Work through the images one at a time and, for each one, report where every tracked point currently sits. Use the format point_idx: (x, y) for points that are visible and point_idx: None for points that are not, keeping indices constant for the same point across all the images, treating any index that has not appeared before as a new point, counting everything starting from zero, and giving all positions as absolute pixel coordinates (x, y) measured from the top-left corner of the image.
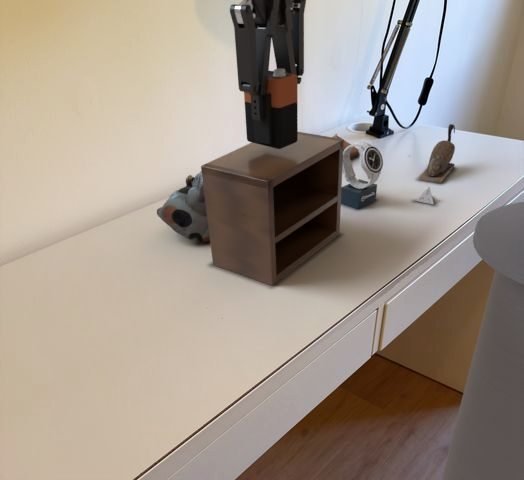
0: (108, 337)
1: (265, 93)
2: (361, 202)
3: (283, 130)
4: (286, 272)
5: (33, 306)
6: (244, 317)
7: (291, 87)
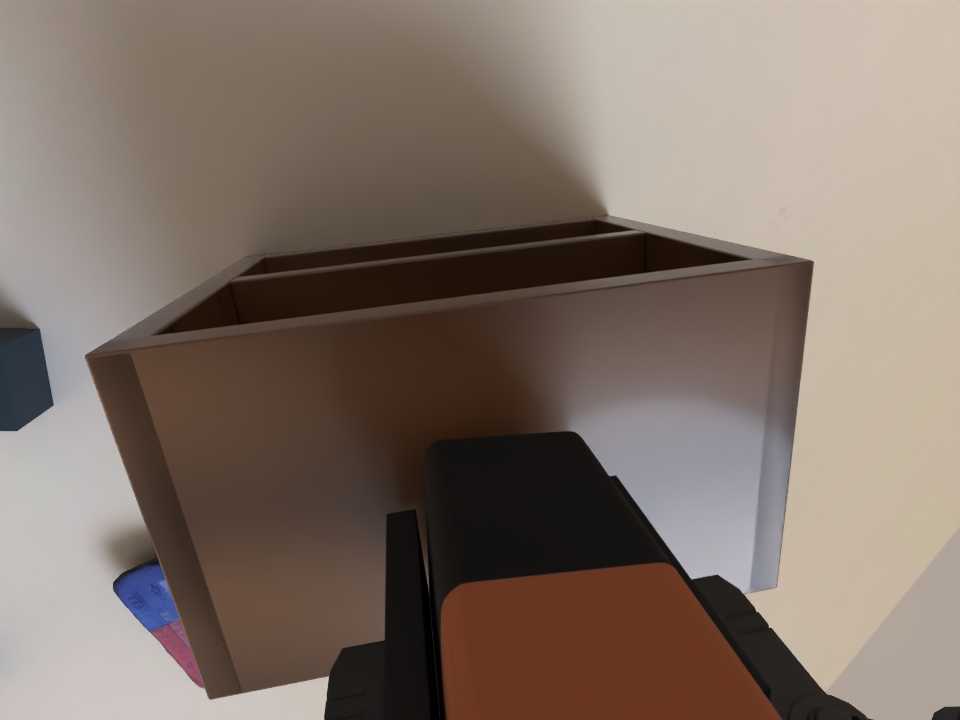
0: (931, 346)
1: (798, 706)
2: (4, 333)
3: (580, 473)
4: (546, 223)
5: (907, 535)
6: (756, 169)
7: (568, 682)
